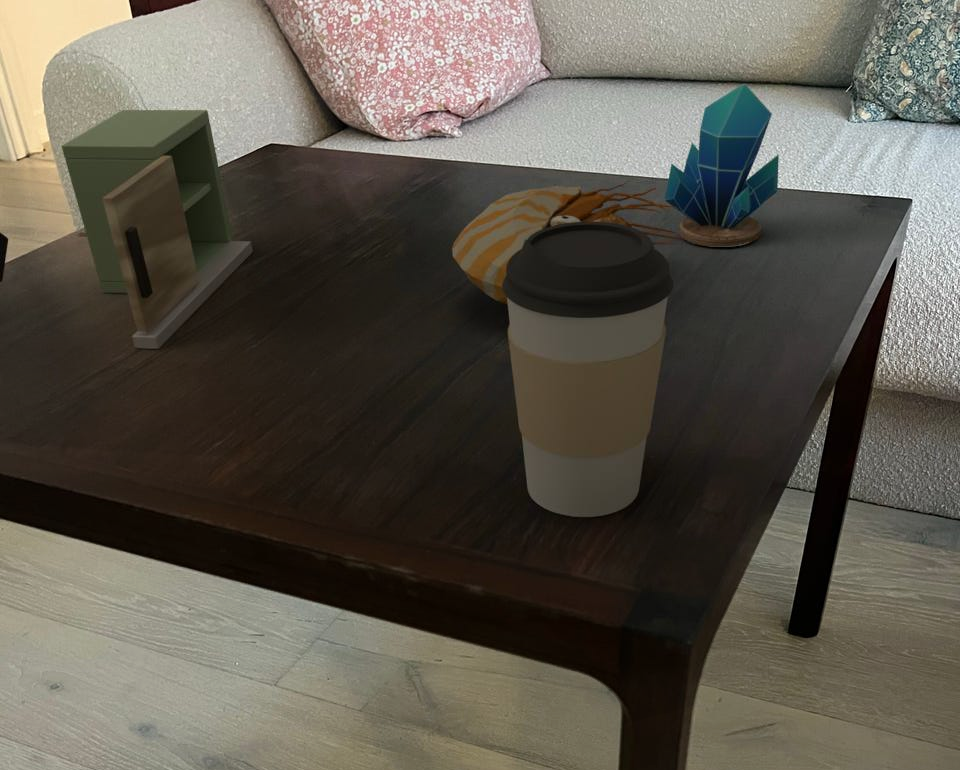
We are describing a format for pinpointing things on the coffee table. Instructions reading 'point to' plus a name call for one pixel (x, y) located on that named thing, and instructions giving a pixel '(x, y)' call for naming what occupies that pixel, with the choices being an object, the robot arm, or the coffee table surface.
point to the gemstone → (724, 173)
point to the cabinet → (188, 139)
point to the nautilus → (531, 228)
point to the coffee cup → (586, 360)
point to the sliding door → (152, 241)
